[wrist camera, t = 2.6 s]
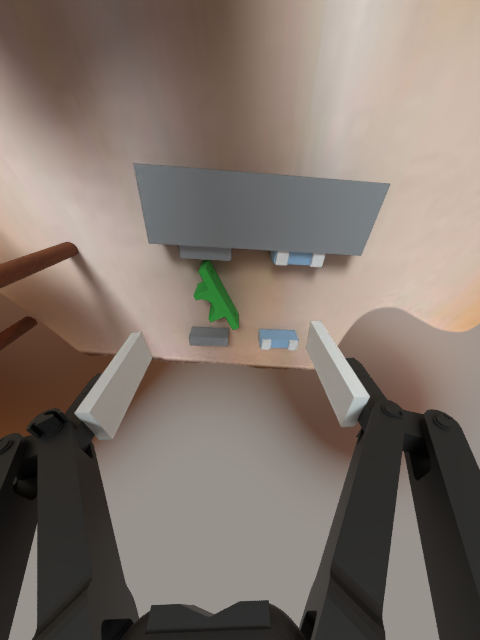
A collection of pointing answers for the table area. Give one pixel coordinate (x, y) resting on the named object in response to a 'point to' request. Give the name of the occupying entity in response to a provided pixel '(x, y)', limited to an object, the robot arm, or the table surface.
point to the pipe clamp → (216, 296)
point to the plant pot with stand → (24, 267)
